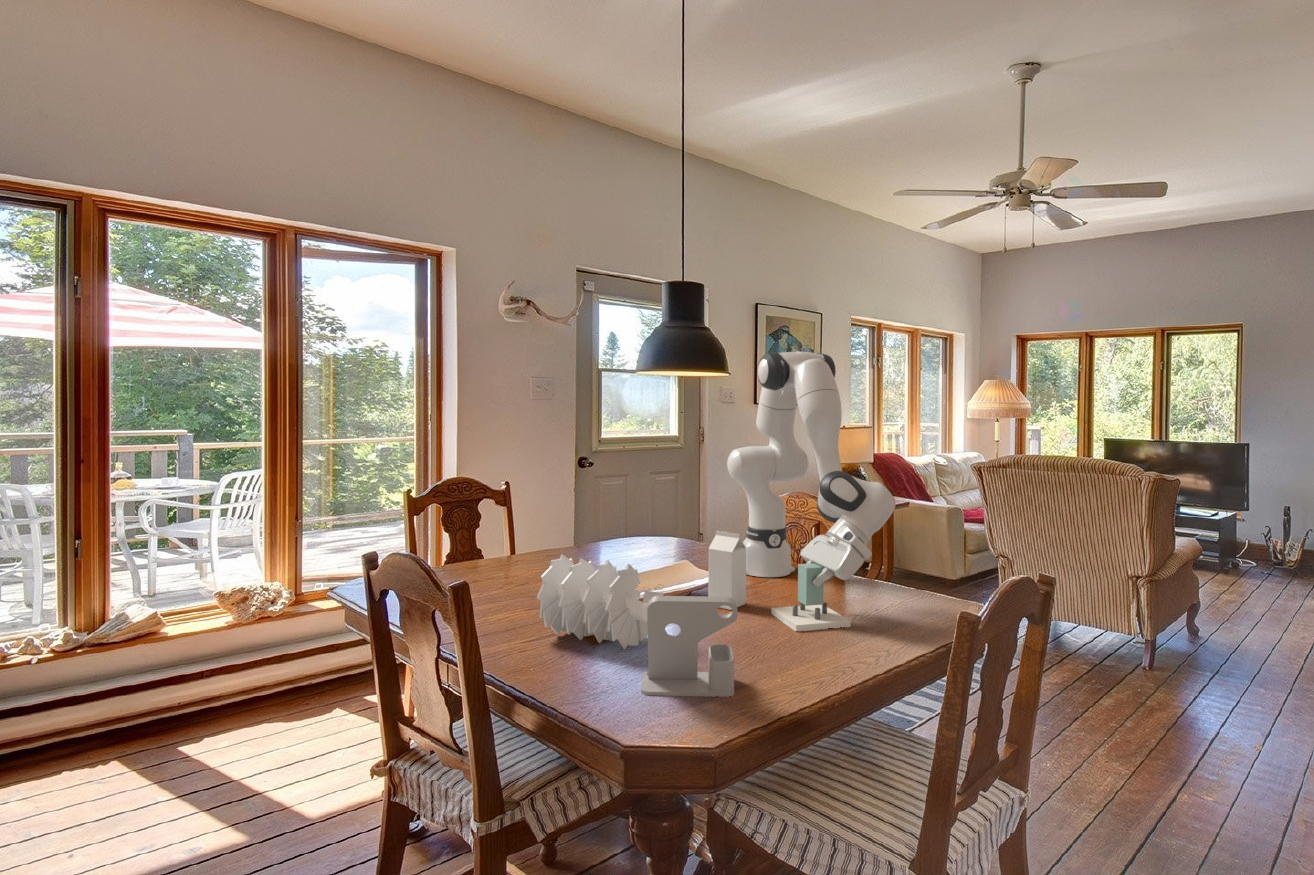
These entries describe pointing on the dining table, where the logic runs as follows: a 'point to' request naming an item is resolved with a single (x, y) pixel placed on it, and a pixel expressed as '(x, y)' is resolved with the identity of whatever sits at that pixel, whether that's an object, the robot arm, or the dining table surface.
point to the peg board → (810, 617)
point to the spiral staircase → (594, 601)
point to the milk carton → (727, 568)
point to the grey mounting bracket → (687, 647)
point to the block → (809, 584)
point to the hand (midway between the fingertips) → (808, 581)
